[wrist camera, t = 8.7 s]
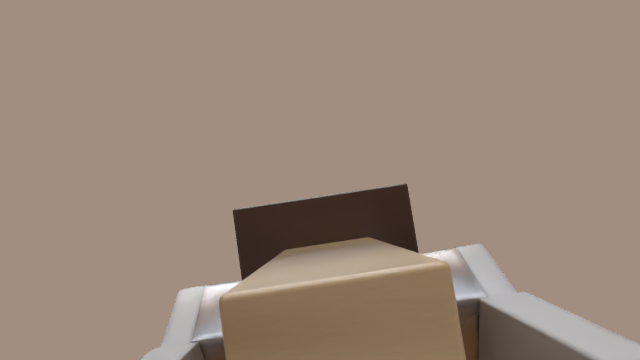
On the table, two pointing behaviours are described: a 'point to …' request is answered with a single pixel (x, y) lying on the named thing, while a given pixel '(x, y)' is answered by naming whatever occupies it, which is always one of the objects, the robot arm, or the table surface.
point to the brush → (338, 283)
